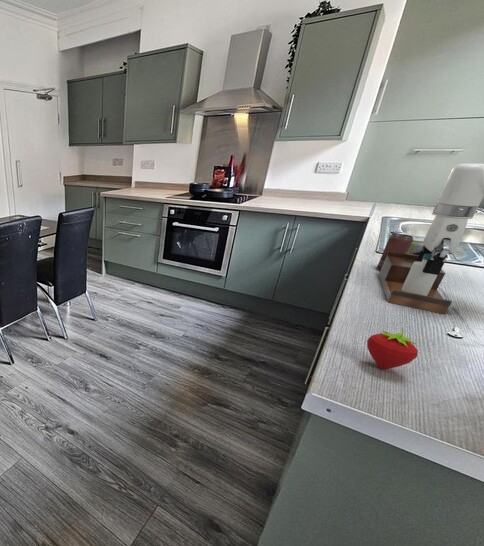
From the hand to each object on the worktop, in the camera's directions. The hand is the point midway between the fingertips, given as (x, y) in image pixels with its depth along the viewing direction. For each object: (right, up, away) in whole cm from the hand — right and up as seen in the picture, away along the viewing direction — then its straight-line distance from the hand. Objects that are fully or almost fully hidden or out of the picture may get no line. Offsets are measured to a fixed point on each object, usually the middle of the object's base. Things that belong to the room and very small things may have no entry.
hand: (426, 268), depth 92 cm
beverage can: (+26, 0, +28) cm, 38 cm away
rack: (+4, -8, +8) cm, 12 cm away
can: (+14, -1, +26) cm, 29 cm away
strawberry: (-39, -22, -25) cm, 51 cm away
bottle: (0, -7, +3) cm, 8 cm away
